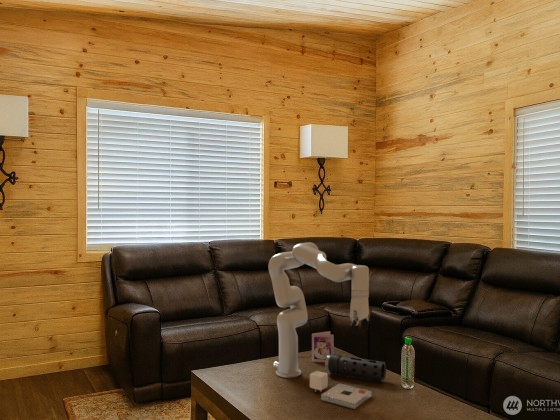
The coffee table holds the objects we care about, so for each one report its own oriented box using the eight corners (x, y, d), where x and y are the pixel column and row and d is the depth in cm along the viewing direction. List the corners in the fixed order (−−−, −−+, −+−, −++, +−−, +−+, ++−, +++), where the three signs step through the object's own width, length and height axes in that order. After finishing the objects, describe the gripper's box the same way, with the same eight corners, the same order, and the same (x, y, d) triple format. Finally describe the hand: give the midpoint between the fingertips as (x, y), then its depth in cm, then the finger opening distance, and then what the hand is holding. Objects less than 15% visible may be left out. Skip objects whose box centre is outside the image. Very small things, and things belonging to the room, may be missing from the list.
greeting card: (311, 362, 265) (311, 334, 264) (313, 357, 272) (313, 330, 272) (333, 363, 263) (333, 335, 263) (334, 358, 270) (334, 331, 270)
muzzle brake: (380, 387, 230) (380, 364, 230) (324, 376, 244) (324, 355, 243) (386, 380, 239) (386, 359, 238) (331, 370, 252) (331, 350, 252)
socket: (321, 400, 215) (321, 393, 215) (339, 388, 228) (339, 382, 228) (354, 409, 206) (354, 402, 206) (371, 396, 219) (371, 389, 219)
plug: (306, 390, 226) (306, 373, 225) (312, 387, 230) (312, 369, 230) (321, 394, 221) (321, 376, 221) (327, 390, 226) (327, 373, 225)
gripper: (360, 289, 231) (360, 326, 231) (343, 295, 216) (343, 335, 217) (375, 291, 226) (375, 328, 227) (359, 297, 212) (359, 337, 212)
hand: (359, 331), depth 222 cm, fingers open, 9 cm apart
